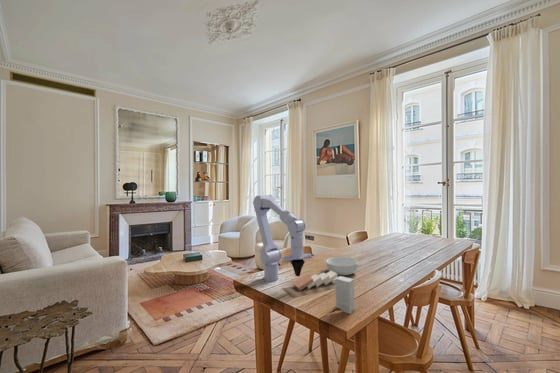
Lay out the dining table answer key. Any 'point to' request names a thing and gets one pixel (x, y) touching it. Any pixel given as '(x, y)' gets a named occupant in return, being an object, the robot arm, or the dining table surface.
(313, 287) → the board
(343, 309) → the skincare box
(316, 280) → the domino
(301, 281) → the terracotta domino
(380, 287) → the dining table surface
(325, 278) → the domino
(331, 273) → the domino
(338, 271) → the cereal bowl
